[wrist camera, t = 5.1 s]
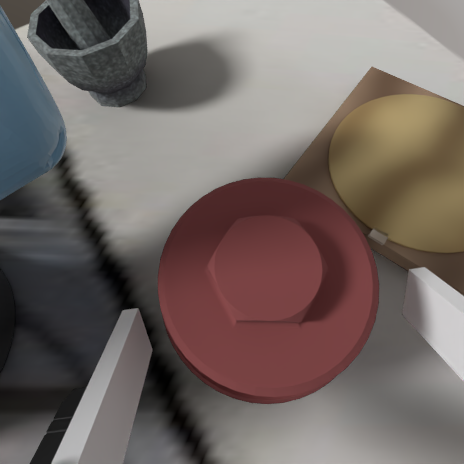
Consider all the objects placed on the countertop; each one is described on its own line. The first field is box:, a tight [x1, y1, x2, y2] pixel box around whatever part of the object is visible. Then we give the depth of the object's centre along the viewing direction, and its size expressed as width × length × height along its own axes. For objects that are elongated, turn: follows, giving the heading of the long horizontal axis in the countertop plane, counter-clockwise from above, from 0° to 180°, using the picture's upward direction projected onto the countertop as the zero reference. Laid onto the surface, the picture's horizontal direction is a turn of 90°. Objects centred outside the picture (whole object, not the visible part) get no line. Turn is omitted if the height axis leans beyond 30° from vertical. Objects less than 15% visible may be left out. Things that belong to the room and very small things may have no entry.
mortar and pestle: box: [27, 0, 147, 107], centre depth 24 cm, size 11×9×12 cm
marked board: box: [284, 67, 464, 296], centre depth 23 cm, size 17×16×2 cm
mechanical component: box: [158, 178, 379, 404], centre depth 15 cm, size 12×10×10 cm
